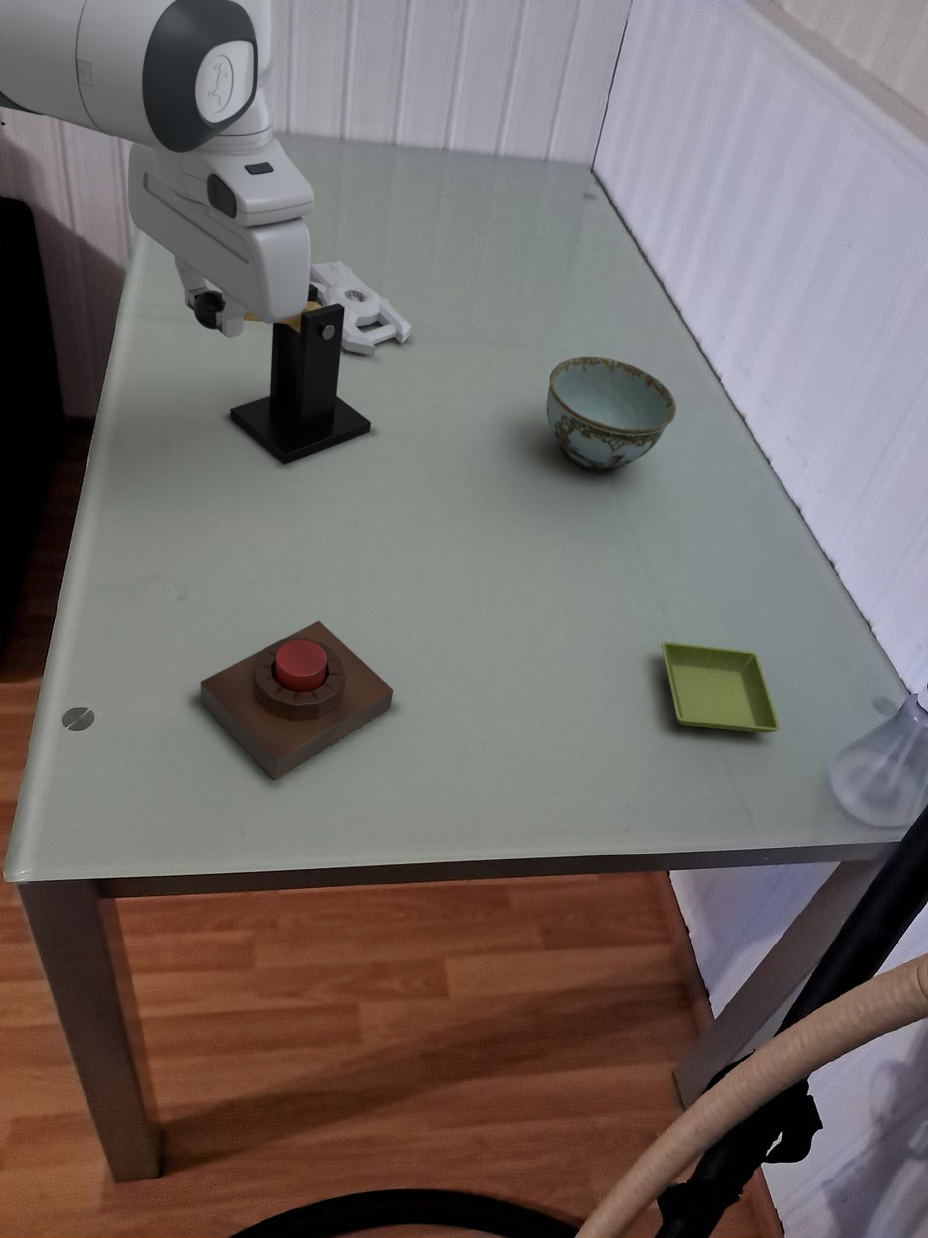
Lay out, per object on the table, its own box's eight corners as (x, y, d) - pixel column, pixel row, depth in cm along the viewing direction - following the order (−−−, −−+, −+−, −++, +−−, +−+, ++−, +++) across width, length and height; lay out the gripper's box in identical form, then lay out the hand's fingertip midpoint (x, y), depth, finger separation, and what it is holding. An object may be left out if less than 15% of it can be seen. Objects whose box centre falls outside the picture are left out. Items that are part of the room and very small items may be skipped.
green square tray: (669, 735, 77) (677, 719, 76) (653, 656, 83) (660, 640, 82) (770, 746, 78) (781, 731, 77) (747, 668, 85) (757, 652, 83)
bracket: (284, 464, 93) (292, 336, 84) (229, 418, 97) (231, 290, 87) (370, 431, 100) (386, 309, 90) (315, 389, 103) (325, 267, 94)
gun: (277, 258, 115) (347, 250, 120) (274, 285, 117) (344, 275, 123) (357, 341, 107) (429, 327, 112) (353, 367, 109) (424, 353, 115)
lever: (203, 335, 80) (213, 299, 79) (182, 317, 82) (191, 281, 80) (324, 342, 91) (335, 310, 90) (303, 326, 93) (313, 295, 91)
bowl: (523, 412, 108) (540, 348, 102) (636, 424, 110) (658, 362, 105) (541, 487, 98) (560, 422, 93) (665, 498, 101) (691, 435, 95)
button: (295, 700, 68) (296, 684, 67) (264, 669, 70) (265, 653, 69) (334, 677, 71) (336, 661, 69) (304, 648, 72) (305, 632, 71)
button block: (274, 780, 68) (276, 746, 65) (200, 701, 71) (199, 665, 69) (390, 708, 74) (396, 674, 71) (316, 639, 78) (320, 604, 75)
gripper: (101, 107, 75) (114, 275, 85) (258, 214, 67) (254, 387, 76) (171, 100, 79) (177, 261, 89) (329, 200, 70) (316, 367, 80)
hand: (214, 320), depth 82 cm, fingers closed on lever, 3 cm apart
